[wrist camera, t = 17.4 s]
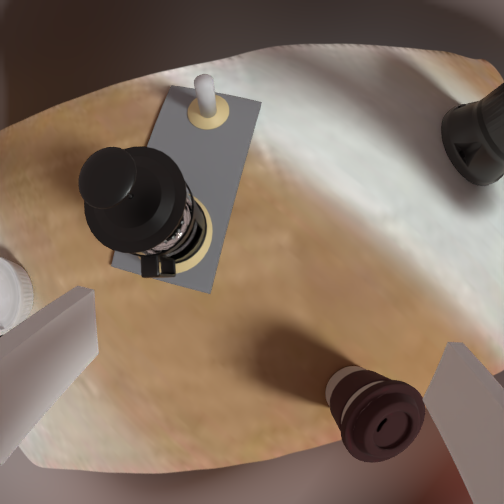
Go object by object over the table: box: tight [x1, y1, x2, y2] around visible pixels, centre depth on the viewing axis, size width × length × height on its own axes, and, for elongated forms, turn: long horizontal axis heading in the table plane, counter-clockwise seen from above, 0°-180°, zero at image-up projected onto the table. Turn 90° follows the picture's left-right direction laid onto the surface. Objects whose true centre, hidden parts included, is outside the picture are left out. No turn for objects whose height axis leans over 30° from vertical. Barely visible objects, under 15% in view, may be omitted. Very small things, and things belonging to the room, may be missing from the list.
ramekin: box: [0, 257, 34, 332], centre depth 38 cm, size 11×11×5 cm
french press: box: [79, 147, 207, 278], centre depth 30 cm, size 12×9×23 cm
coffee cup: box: [325, 366, 425, 462], centre depth 34 cm, size 10×10×15 cm
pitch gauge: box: [111, 74, 262, 294], centre depth 39 cm, size 14×28×9 cm, turn 166°
